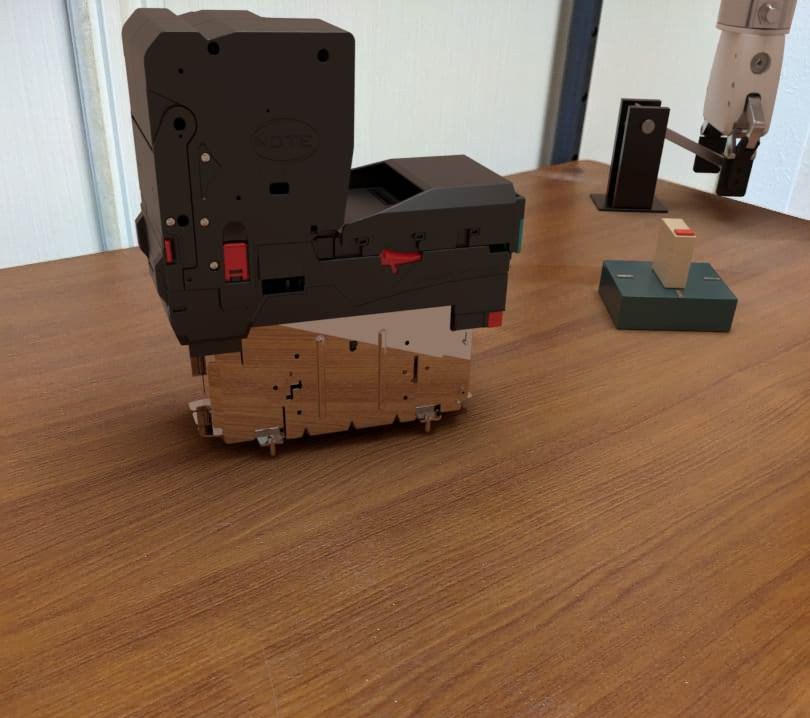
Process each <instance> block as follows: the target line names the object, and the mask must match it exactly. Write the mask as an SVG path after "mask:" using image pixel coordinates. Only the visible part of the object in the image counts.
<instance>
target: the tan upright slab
mask: <svg viewBox="0 0 810 718" xmlns="http://www.w3.org/2000/svg"><path fill="white" fill-rule="evenodd" d="M659 225H660V226H659V230H658V236H657V240H656V245H655V250H654V255H653V260H652V261H653V266H652V268H653V270H654V271H655V273H656V275H657V276H658V278H659V279H660V281H661V282H662V284H663V286H664V287H665V288H685V287H686V282H687V277H688V273H689V268H690V264H691V262H692V259H693V254H694V250H695V246H696V245H695V244H696V241H697V236H696V235H695V234H696V233H695V231H693V229H690V227H689V226H688V225H687V223H685V221H684V220H683V218H673V217H672V218H667V217H662V218H661V220H660V224H659Z"/></svg>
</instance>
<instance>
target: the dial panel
mask: <svg viewBox="0 0 810 718" xmlns="http://www.w3.org/2000/svg"><path fill="white" fill-rule="evenodd" d="M653 261H654V260H625V259H624V260H619V259H603V260H602V265H601V266H602V267H601V273H600V277H599V284H598V293H599V295H600V297H601V298H602V301H603V303H604V304H605V307H606V309H607V312H608V313H609V315H610V317H611V319H612V321H613V323H614V326H615V328H616V329H618V330H649V331H650V330H651V331H652V330H653V331H688V332H689V331H691V332H725V333H730V332H731V330H732V326H733V321H734V318H735V313H736V309H737V305H738V301H739V298H738V297H737V296H736V294H735V293H734V292H733V291H732V290H731V288H730V287H729V286H728V284H727V283H726V282H725V280H723V279H722V277H721V276H720V274H719V273H718V272H717V270H715V268H714V267H713V266H712V264H711V263H710V262H692V261H691V264H690V268H689V273H688V277H687V282H686V287H685V288H665V287H664V286H663V284H662V282H661V281H660V279H659V278H658V276H657V275H656V273H655V271H654V270H653V268H652V266H653Z"/></svg>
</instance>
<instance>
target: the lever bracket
mask: <svg viewBox="0 0 810 718" xmlns="http://www.w3.org/2000/svg"><path fill="white" fill-rule="evenodd" d="M662 102H663V101H662V100H661V99H659V98H628V97H621V98H620V103H619V109H618V115H617V122H616V128H615V134H614V140H613V147H612V152H611V153H612V155H611V160H610V167H609V173H608V178H607V184H606V192H605V193H590V194H589V198H590V200H591V201H592V203H593V204H594V206H595V208H596V209H597V211H598V212H610V213H611V212H612V213H613V212H614V213H640V214H641V213H642V214H643V213H647V214H668V213H669V210H668V209H667V207H666V206H665V204H663V202H662V201H661V200H660V199H659V197H658V196H657V195H655V193H656V189H657V183H658V178H659V172H660V168H661V167H660V166H661V163H662V157H663V152H664V151H663V150H664V147H665V146H664V145H665V140H666V139H665V136H666V130H667V128H668V125H669V119H670V114H671V108H670V107H669V106H662ZM635 103H637V104H639V105H641V106H634V105H635ZM625 121H626V124H624V123H625Z"/></svg>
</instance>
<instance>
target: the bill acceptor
mask: <svg viewBox="0 0 810 718" xmlns="http://www.w3.org/2000/svg"><path fill="white" fill-rule="evenodd" d="M121 27H122V28H121V32H120V33H121V35H120V36H121V42H122V52H123V57H124V65H125V72H126V81H127V91H128V97H129V108H130V120H131V127H132V128H131V129H132V137H133V146H134V153H135V161H136V171H137V178H138V179H137V180H138V185H139V186H138V188H139V191H140V201H141V202H140V203H139V204H140V205H139V206H140V212H139V213H138V214H137V217H136V218H135V219H134V224H135V226H134V227H135V233H136V239H137V245H138V248H139V250H140V252H142V253H143V254H144V255H145V257H146V258H147V267H148V272H149V275H150V278H151V280H152V282H153V285H154V288H155V290H156V292H157V295H158V297H159V301H160V303H161V305H162V307H163V310H164V313H165V314H166V317H167V319H168V322H169V325H170V327H171V329H172V331H173V333H174V335H175V338H176V339H177V341H178V343H179V345H180V346H182V347H184V346H187V347H188V355H189V359H190V360H189V361H190V369H191V376H192V378H196V377H199V383H200V387H201V392H202V395H203V398H202V399H199V400H193V401H191V402H189V403H188V407H189V411H190V412H192V419H193V421H194V423H195V425H196V427H197V431H198V434H199V436H200V437H202V438H208V437H209V438H211V437H213V438H215V437H220V439H221V440H222V441H223V443H224V444H226V445H230V444H232V445H233V444H238V443H239V444H240V443H244V442H251V441H255V439H256V441H257V443H258V445H259V446H260V447H269V455H270V456H272V457H273V456H276V455H277V450H276V449H277V448H276V445H281V444H284V439H286V440H292V439H300V438H302V437H303V435H304V433H305V434H306V435H308V436H310V437H312V436H320V435H326V434H334V433H339V432H341V433H342V432H347V431H349V429H350V428H351V427H352V428H354V429H355V430H360V429H361V430H362V429H367V428H375V427H381V426H387V425H392V424H393V423H394V421H397V422H399V423H407V422H413V421H415V420H416V419H417V420H418V421H419V423H424V432H427V433H429V432H431V421H440V420H442V415H441V414H442V413H449V412H454V411H460V410H461V406H463V405H464V404H466V402H468V400H470V399H473V395H472V393H471V392H470V390H469V389H470V376H471V366H472V365H471V363H472V362H471V361H472V350H473V335H474V329H481V328H483V329H485V328H487V329H491V328H498V327H502V325H503V318H504V317H503V315H504V312H506V304H507V294H508V281H509V272H510V265H511V264H510V263H511V260H512V259H513V258H512V257H513V253H515V254H520V253H521V251H522V243H523V231H524V221H525V215H526V214H525V213H526V205H527V204H526V202H527V198H526V197H525V196H523V195H522V194H520V193H519V192H517V191H516V190H515V186H514V182H512V181H511V180H509V179H507V178H506V177H504V176H502V175H501V174H499V173H497V172H495V171H494V170H492V169H490V168H488V167H487V166H485V165H483V164H481V163H479V162H478V161H477V160H475V159H473V158H471V157H470V156H467V154H449V155H447V154H445V155H429V156H416V157H415V156H414V157H413V156H412V157H411V156H410V157H397V158H395V157H394V158H387V159H384V160H379V161H376V162H372V163H368V164H363V165H359V166H357V167H352V165H353V159H354V153H355V152H354V151H355V115H356V113H355V112H356V111H355V110H356V109H355V108H356V107H355V104H356V103H355V102H356V101H355V100H356V99H355V98H356V38H355V36H354V34H353V33H352V32H350V31H348V30H345V29H343V28H341V27H339V26H336V25H334V24H333V23H330V22H328V21H325V20H323V19H321V18H311V17H309V18H308V17H306V18H305V17H270V16H269V17H268V16H262V15H259V14H256V13H254V12H252V11H250V10H248V9H199V10H196V11H193V10H192V11H188V12H185V13H181V14H178V15H177V14H176V13H174V12H173V11H172V10H171V9H169V8H166V7H137V8H136V9H134V10H133V12H132V13H131V15H130V16H129V17H128V18H127V20H126V21H125V22H124V23H123V25H122V26H121Z"/></svg>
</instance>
